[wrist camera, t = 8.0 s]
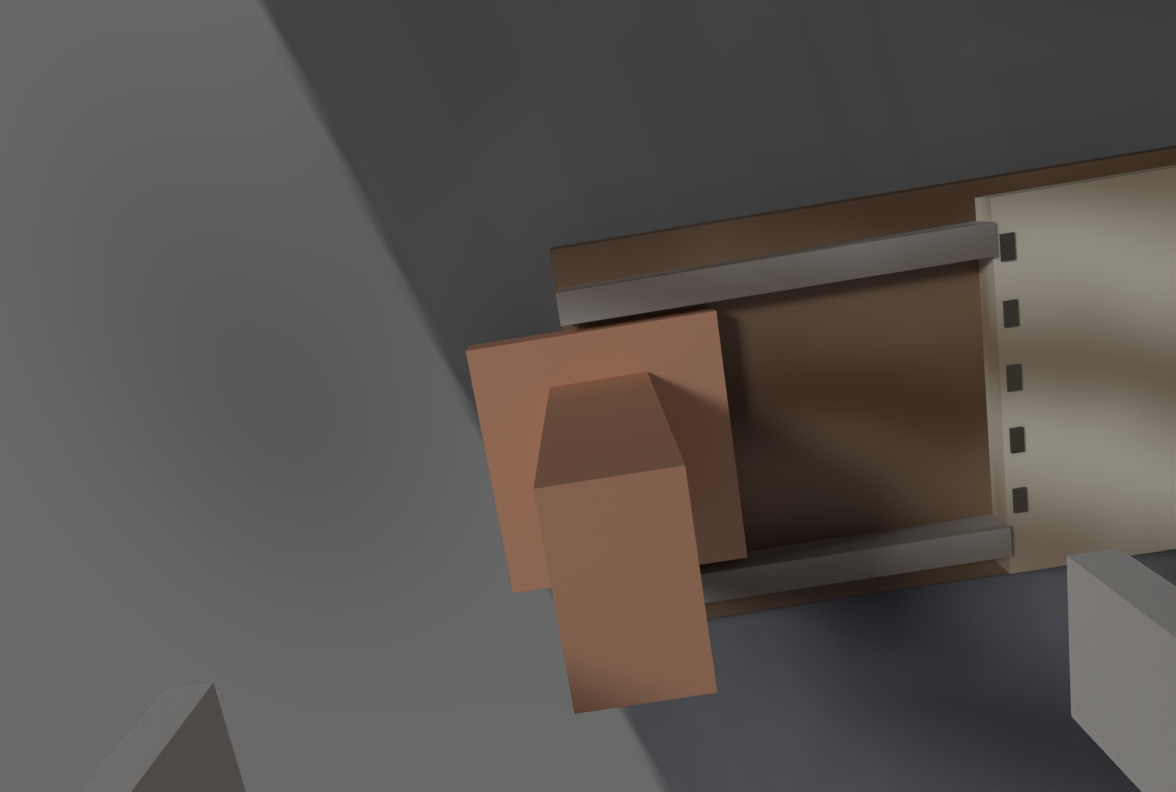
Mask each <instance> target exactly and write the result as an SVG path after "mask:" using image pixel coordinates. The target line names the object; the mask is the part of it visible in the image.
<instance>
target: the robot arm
mask: <svg viewBox="0 0 1176 792" xmlns="http://www.w3.org/2000/svg"><path fill="white" fill-rule="evenodd" d="M1067 582H1068V618H1069V654H1070V690H1071V716H1072V717H1073V718H1074V720H1075V721H1076V722H1077V723H1078V724H1079V725H1080V726H1081V727H1082V728H1083V729H1084V730H1085V731H1086V732H1087V734H1088V735H1089V736H1090V737H1091V738H1092V739H1093V740H1094V741H1095V742H1096V743H1097V744H1098V745H1099V746H1100V748H1101V749H1102V750H1103V751H1104V752H1105V753H1106V754H1107V755H1108V756H1109V757H1110V758H1111V759H1112V760H1113V762H1114V763H1115V764H1116V765H1117V766H1118V767H1119V768H1120V769H1121V770H1122V771H1123V772H1124V773H1125V774H1126V776H1127V777H1128V778H1129V779H1130V780H1131V781H1132V782H1133V783H1134V784H1135V785H1136V786H1137V787H1138V788H1139V789H1140V791H1141V792H1176V586H1174V585H1173V584H1171V583H1170V582H1168V581H1167V580H1165V579H1164V578H1162V577H1161V576H1159V575H1158V574H1156V573H1155V572H1153V571H1152V570H1150V569H1149V568H1147V567H1146V566H1144V565H1143V564H1141V563H1140V562H1138V561H1137V560H1135V559H1134V558H1132V557H1131V556H1129V555H1128V554H1126V553H1125V552H1123V551H1122V550H1120V549H1119V548H1115V549H1109V550H1102V551H1095V552H1088V553H1082V554H1075V555H1068V556H1067ZM80 792H246V791H245V788H244V784H243V781H242V777H241V774H240V771H239V767H238V764H237V761H236V757H235V754H234V751H233V747H232V744H231V741H230V737H229V734H228V730H227V727H226V724H225V721H224V717H223V714H222V710H221V707H220V704H219V700H218V697H217V694H216V690H215V687H214V684H213V683H207V684H200V685H193V686H187V687H180V688H173V689H166V690H164V692H163V693H162V694H161V695H160V696H159V698H158V699H157V700H156V701H155V702H154V703H153V705H152V706H151V707H150V708H149V710H148V711H147V712H146V713H145V714H144V715H143V717H142V718H141V719H140V720H139V721H138V723H137V724H136V725H135V726H134V727H133V729H132V730H131V731H130V732H129V734H128V735H127V736H126V737H125V738H124V739H123V741H122V742H121V743H120V744H119V745H118V747H117V748H116V749H115V750H114V751H113V753H112V754H111V755H110V756H109V757H108V759H107V760H106V761H105V762H104V763H103V764H102V766H101V767H100V768H99V769H98V770H97V772H96V773H95V774H94V775H93V776H92V778H91V779H90V780H89V781H88V782H87V784H86V785H85V786H84V787H83V788H82V790H81V791H80Z"/></svg>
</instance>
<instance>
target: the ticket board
mask: <svg viewBox="0 0 1176 792" xmlns="http://www.w3.org/2000/svg"><path fill="white" fill-rule="evenodd" d="M550 254H551V260H552V266H553V272H554V278H555V284H556V292H555V294H556V300H557V306H558V312H559V318H560V324H561V326H563V331H564V330H570V329H577V328H583V327H589V326H595V325H602V324H608V323H614V322H620V321H626V320H633V319H639V318H645V317H651V316H658V315H664V314H670V313H676V312H682V311H689V310H695V309H701V308H707V307H712V308H713V309H714V310H716V313H717V321H718V329H719V337H720V345H721V353H722V360H723V368H724V376H725V384H726V392H727V400H728V408H729V416H730V424H731V431H732V439H733V447H734V455H735V463H736V471H737V479H738V487H739V495H740V502H741V510H742V518H743V526H744V534H745V542H746V550H747V558H741V559H734V560H727V561H721V562H714V563H708V564H701V565H699V567H700V574H701V581H702V588H703V595H704V602H705V609H706V617H707V619H708V618H714V617H721V616H727V615H734V614H741V613H747V612H754V611H760V610H767V609H774V608H780V607H787V606H793V605H800V604H807V603H813V602H820V601H826V600H833V599H840V598H846V597H853V596H859V595H866V594H873V593H879V592H886V591H892V590H899V589H906V588H912V587H919V586H925V585H932V584H939V583H945V582H952V581H958V580H965V579H972V578H978V577H985V576H991V575H998V574H1005V573H1010V574H1013V573H1019V572H1026V571H1032V570H1039V569H1046V568H1052V567H1059V566H1065V565H1067V556H1068V555H1075V554H1082V553H1088V552H1095V551H1102V550H1109V549H1115V548H1119V549H1120V550H1122V551H1123V552H1125V553H1126V554H1128V555H1129V556H1132V555H1138V554H1145V553H1151V552H1158V551H1165V550H1171V549H1176V146H1171V147H1165V148H1159V149H1153V150H1146V151H1140V152H1134V153H1128V154H1122V155H1116V156H1110V157H1104V158H1097V159H1091V160H1085V161H1079V162H1073V163H1067V164H1061V165H1055V166H1048V167H1042V168H1036V169H1030V170H1024V171H1018V172H1012V173H1006V174H999V175H993V176H987V177H981V178H975V179H969V180H963V181H957V182H951V183H944V184H938V185H932V186H926V187H920V188H914V189H908V190H902V191H895V192H889V193H883V194H877V195H871V196H865V197H859V198H853V199H846V200H840V201H834V202H828V203H822V204H816V205H810V206H804V207H797V208H791V209H785V210H779V211H773V212H767V213H761V214H755V215H749V216H742V217H736V218H730V219H724V220H718V221H712V222H706V223H700V224H693V225H687V226H681V227H675V228H669V229H663V230H657V231H651V232H644V233H638V234H632V235H626V236H620V237H614V238H608V239H602V240H595V241H589V242H583V243H577V244H571V245H565V246H559V247H553V248H551V249H550Z"/></svg>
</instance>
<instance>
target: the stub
mask: <svg viewBox="0 0 1176 792" xmlns="http://www.w3.org/2000/svg"><path fill="white" fill-rule="evenodd" d="M466 355H467V360H468V365H469V370H470V375H471V380H472V385H473V390H474V396H475V401H476V406H477V411H478V416H479V421H480V426H481V431H482V437H483V442H484V447H485V452H486V457H487V462H488V467H489V472H490V477H491V482H492V487H493V492H494V498H495V503H496V508H497V513H498V518H499V523H500V528H501V534H502V539H503V544H504V549H505V554H506V559H507V564H508V569H509V575H510V580H511V585H512V590H513V593H517V592H525V591H531V590H538V589H545V588H552V593H553V599H554V604H555V609H556V615H557V620H558V626H559V631H560V637H561V642H562V648H563V653H564V658H565V664H566V669H567V675H568V680H569V686H570V691H571V696H572V701H573V707H574V712H575V714H576V713H583V712H590V711H596V710H603V709H610V708H617V707H624V706H630V705H637V704H644V703H650V702H657V701H664V700H670V699H677V698H684V697H691V696H697V695H704V694H711V693H717V688H716V680H715V673H714V666H713V659H712V652H711V645H710V638H709V631H708V624H707V617H706V609H705V602H704V595H703V588H702V581H701V574H700V567H699V565H701V564H708V563H714V562H721V561H727V560H734V559H741V558H747V550H746V542H745V534H744V526H743V518H742V510H741V502H740V495H739V487H738V479H737V471H736V463H735V455H734V447H733V439H732V431H731V424H730V416H729V408H728V400H727V392H726V384H725V376H724V368H723V360H722V353H721V345H720V337H719V329H718V321H717V313H716V310H714V309H713V308H712V307H707V308H701V309H695V310H689V311H682V312H676V313H670V314H664V315H658V316H651V317H645V318H639V319H633V320H626V321H620V322H614V323H608V324H602V325H595V326H589V327H583V328H577V329H570V330H564V331H558V332H552V333H546V334H539V335H533V336H527V337H521V338H515V339H508V340H502V341H496V342H490V343H483V344H477V345H471V346H469V348H468V349H467V350H466Z"/></svg>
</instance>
